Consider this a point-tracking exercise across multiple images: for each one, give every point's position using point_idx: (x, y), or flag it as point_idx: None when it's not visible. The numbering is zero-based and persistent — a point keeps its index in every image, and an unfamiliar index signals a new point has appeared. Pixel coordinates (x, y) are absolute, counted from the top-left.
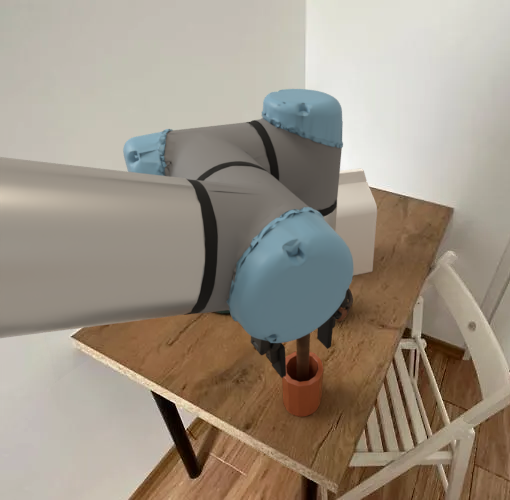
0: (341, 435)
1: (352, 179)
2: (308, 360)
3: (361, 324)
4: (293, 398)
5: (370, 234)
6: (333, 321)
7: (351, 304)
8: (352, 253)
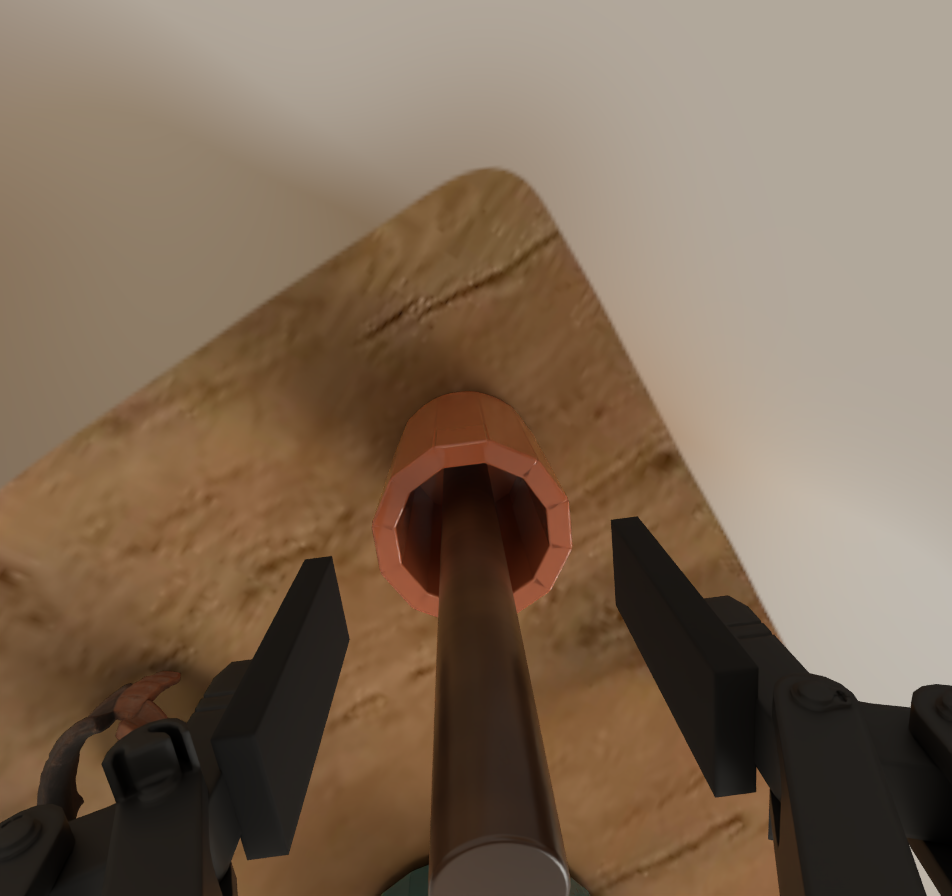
0: (411, 265)
1: None
2: (455, 545)
3: (92, 622)
4: (537, 447)
5: None
6: (216, 707)
7: (74, 726)
8: None
